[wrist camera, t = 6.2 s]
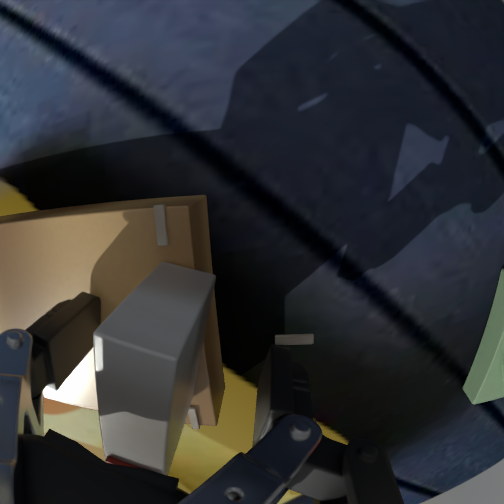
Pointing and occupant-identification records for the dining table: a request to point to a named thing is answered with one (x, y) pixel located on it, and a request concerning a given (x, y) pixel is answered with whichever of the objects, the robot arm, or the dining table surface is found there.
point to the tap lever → (151, 365)
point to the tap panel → (110, 277)
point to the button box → (489, 355)
